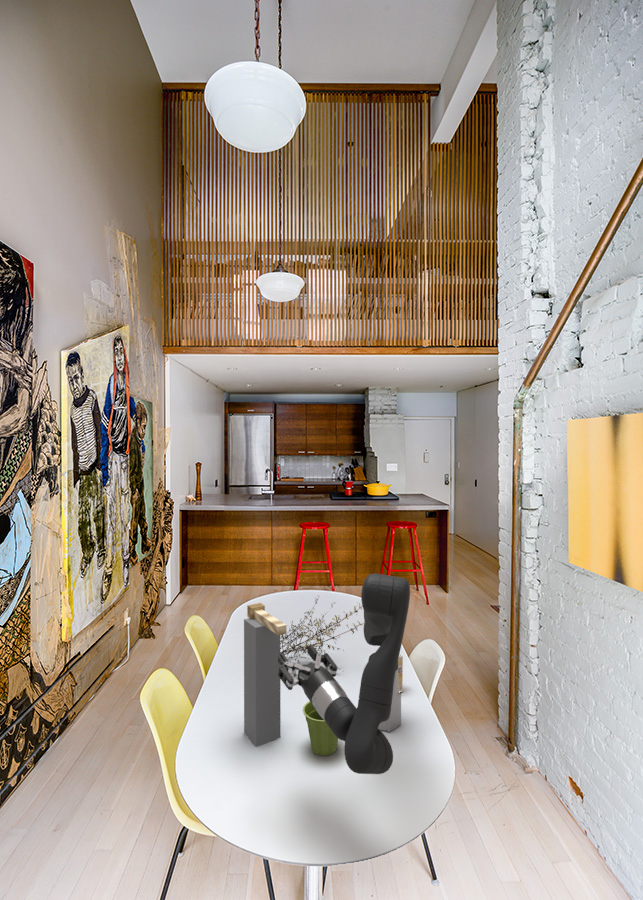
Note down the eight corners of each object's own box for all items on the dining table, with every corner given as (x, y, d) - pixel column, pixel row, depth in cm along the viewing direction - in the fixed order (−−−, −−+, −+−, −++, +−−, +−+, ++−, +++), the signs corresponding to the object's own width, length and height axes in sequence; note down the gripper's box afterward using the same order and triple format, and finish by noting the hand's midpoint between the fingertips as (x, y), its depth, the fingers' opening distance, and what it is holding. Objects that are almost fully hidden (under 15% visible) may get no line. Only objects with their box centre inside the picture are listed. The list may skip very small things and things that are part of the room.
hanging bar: (289, 632, 127) (289, 620, 127) (275, 636, 125) (275, 623, 125) (260, 613, 142) (260, 602, 142) (247, 616, 140) (247, 605, 140)
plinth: (280, 737, 135) (280, 621, 135) (255, 747, 131) (255, 627, 131) (268, 723, 142) (267, 614, 142) (244, 732, 137) (243, 619, 138)
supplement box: (381, 696, 158) (381, 658, 158) (375, 689, 162) (375, 652, 162) (403, 693, 160) (403, 655, 160) (397, 686, 164) (397, 649, 164)
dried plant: (251, 633, 168) (363, 583, 167) (266, 611, 199) (361, 569, 198) (284, 713, 165) (399, 663, 164) (295, 678, 196) (391, 635, 195)
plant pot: (320, 730, 139) (320, 693, 139) (352, 746, 131) (352, 706, 131) (294, 750, 130) (294, 710, 130) (326, 768, 122) (326, 726, 122)
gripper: (354, 674, 110) (319, 633, 123) (302, 690, 102) (271, 645, 116) (348, 700, 112) (315, 657, 125) (297, 718, 104) (268, 670, 117)
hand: (294, 651), depth 120 cm, fingers open, 8 cm apart
